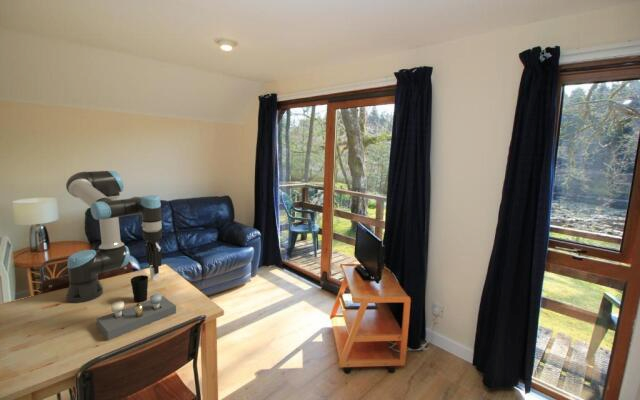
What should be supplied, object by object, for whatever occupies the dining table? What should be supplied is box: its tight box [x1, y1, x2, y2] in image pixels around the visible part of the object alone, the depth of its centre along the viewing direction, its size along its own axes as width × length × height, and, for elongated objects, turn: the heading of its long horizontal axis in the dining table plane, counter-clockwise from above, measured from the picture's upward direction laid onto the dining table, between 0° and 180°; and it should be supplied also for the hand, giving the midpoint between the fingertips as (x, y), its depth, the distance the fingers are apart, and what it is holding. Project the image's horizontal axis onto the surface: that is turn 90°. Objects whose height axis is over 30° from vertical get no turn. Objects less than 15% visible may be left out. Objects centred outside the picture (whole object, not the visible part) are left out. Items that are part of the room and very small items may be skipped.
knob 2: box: [149, 293, 163, 310], centre depth 141 cm, size 5×5×6 cm
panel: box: [96, 295, 177, 341], centre depth 138 cm, size 14×28×4 cm, turn 142°
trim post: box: [134, 302, 143, 318], centre depth 134 cm, size 3×3×6 cm
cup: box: [130, 274, 149, 304], centre depth 154 cm, size 8×8×12 cm
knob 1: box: [110, 301, 125, 319], centre depth 133 cm, size 5×5×6 cm
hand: (154, 279), depth 139 cm, fingers closed
